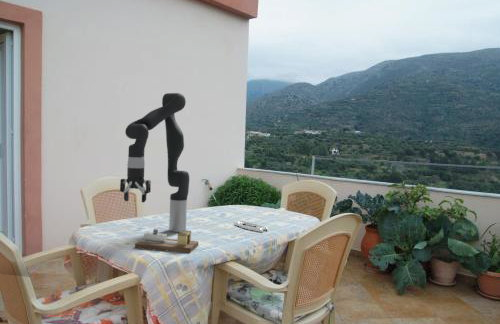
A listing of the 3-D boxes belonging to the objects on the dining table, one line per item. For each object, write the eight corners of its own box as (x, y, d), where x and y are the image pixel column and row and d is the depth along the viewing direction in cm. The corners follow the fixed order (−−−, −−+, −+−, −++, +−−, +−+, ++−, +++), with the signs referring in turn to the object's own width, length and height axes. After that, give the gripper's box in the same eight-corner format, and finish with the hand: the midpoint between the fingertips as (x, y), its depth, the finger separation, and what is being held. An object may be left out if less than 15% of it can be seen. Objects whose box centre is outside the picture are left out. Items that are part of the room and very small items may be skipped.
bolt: (146, 238, 165) (147, 228, 165) (166, 240, 163) (167, 229, 163) (143, 240, 162) (144, 229, 162) (164, 242, 160) (164, 231, 160)
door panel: (146, 241, 170) (146, 236, 170) (198, 245, 166) (198, 241, 166) (134, 247, 158) (135, 243, 158) (190, 252, 154) (190, 247, 154)
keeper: (182, 241, 164) (182, 230, 164) (190, 242, 164) (191, 231, 164) (177, 245, 157) (177, 233, 157) (185, 246, 157) (186, 234, 157)
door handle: (242, 223, 221) (271, 231, 203) (230, 225, 214) (259, 233, 196) (242, 219, 221) (271, 226, 203) (230, 221, 214) (259, 229, 196)
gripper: (153, 167, 166) (152, 201, 166) (125, 165, 168) (124, 199, 168) (147, 168, 158) (145, 203, 159) (117, 166, 160) (116, 201, 161)
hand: (134, 201), depth 164 cm, fingers open, 8 cm apart
